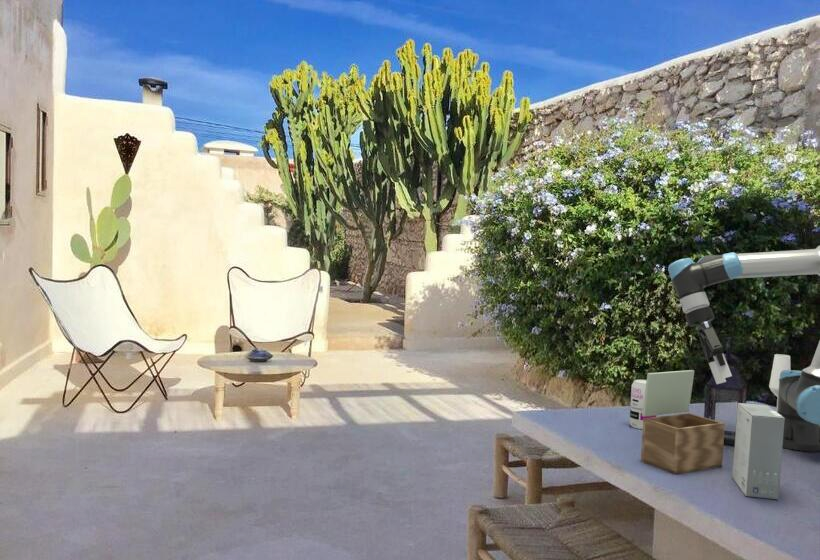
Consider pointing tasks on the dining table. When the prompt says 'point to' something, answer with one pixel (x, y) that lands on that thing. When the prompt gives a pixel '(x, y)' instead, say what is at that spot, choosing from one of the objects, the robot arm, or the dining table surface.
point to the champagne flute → (778, 372)
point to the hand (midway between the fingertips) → (724, 380)
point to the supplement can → (637, 404)
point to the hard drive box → (758, 450)
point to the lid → (668, 392)
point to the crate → (682, 443)
